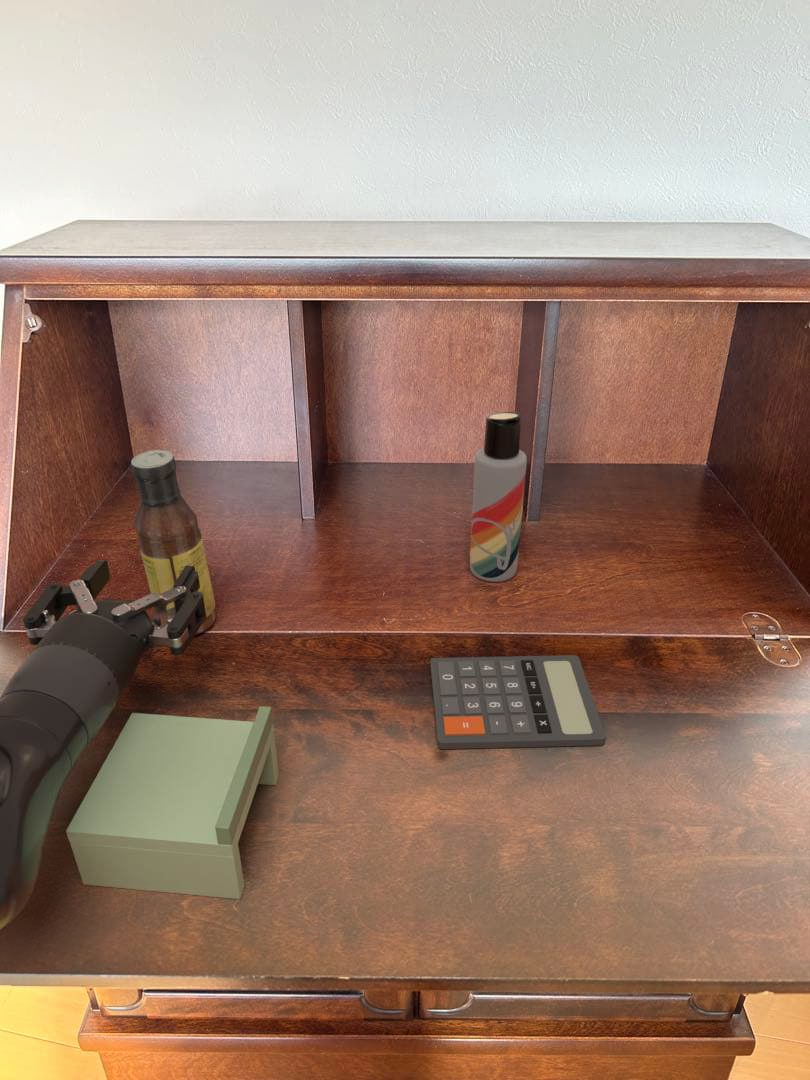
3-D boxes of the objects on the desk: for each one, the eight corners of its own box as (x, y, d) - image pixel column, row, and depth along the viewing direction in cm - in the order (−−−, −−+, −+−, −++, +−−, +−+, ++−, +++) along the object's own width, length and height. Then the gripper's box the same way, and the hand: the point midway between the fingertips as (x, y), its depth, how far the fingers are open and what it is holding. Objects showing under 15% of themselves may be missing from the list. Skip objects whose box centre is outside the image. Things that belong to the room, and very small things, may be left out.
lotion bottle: (483, 587, 93) (494, 427, 83) (460, 563, 98) (468, 408, 87) (525, 576, 95) (541, 419, 85) (501, 553, 100) (513, 400, 89)
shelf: (83, 885, 60) (59, 813, 56) (143, 763, 70) (128, 696, 66) (240, 900, 59) (228, 828, 55) (279, 774, 69) (271, 706, 65)
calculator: (430, 656, 81) (578, 653, 81) (429, 663, 81) (577, 660, 82) (438, 741, 71) (606, 737, 71) (437, 749, 71) (605, 745, 72)
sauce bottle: (218, 603, 90) (194, 441, 80) (216, 637, 85) (190, 468, 75) (158, 609, 89) (126, 445, 79) (152, 644, 84) (117, 473, 74)
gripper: (150, 653, 60) (216, 540, 74) (-31, 640, 61) (67, 532, 75) (165, 727, 64) (226, 607, 77) (-5, 714, 65) (84, 598, 79)
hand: (148, 570), depth 76 cm, fingers open, 8 cm apart
